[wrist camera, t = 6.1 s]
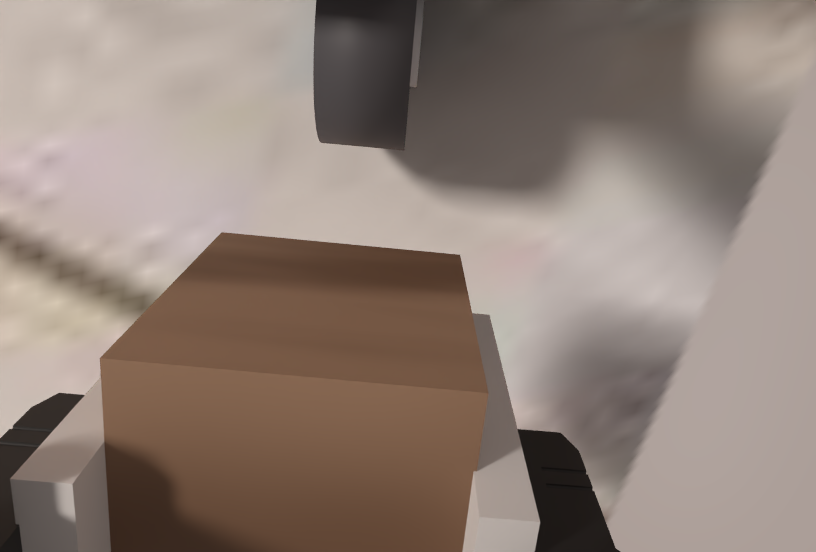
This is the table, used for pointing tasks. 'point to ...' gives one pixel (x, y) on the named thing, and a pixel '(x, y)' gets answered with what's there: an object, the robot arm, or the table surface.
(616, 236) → the table surface
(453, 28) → the table surface
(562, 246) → the table surface
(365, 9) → the grey bracket
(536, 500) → the robot arm
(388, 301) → the block
